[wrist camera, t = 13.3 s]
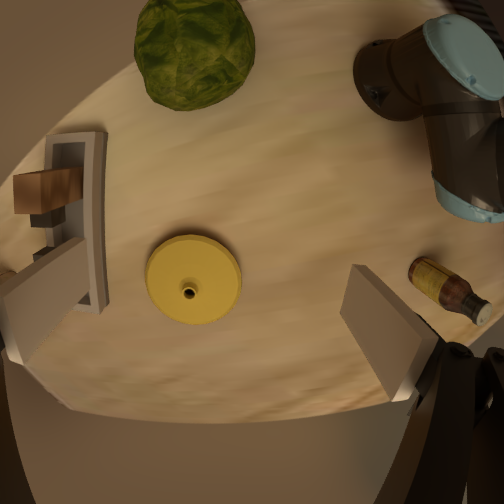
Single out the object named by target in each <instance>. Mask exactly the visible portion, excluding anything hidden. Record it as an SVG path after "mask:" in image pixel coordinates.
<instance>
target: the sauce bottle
mask: <svg viewBox="0 0 504 504" xmlns="http://www.w3.org/2000/svg"><path fill="white" fill-rule="evenodd" d="M409 280H410V282H411V283H412V284H413V285H414V286H415V287H416V288H417V289H419V290H420V291H421V292H423V293H424V294H425V295H427V296H428V297H429V298H430V299H432V300H433V301H435V302H436V303H437V304H439V305H440V306H441V307H443V308H444V309H445V310H447V311H451V312H456V313H460V314H464V315H466V316H467V317H468V318H470V319H471V320H472V322H473V323H474V324H476V325H477V326H482V325H484V324H485V323H486V322H487V321H488V319H489V318H490V316H491V313H492V304H491V303H490V302H488V301H487V300H483V299H481V298H480V297H478V296H477V295H476V294H474V292H473V291H472V288H471V286H470V284H469V283H468V282H467V281H466V280H464V279H462V278H461V277H460V276H458V275H457V274H455V273H453V272H452V271H450V270H448V269H446V268H445V267H443V266H441V265H439V264H438V263H436V262H434V261H432V260H430V259H428V258H419V259H417V260H416V261H415V262H414V263H413V264H412V265H411V267H410V270H409Z"/></svg>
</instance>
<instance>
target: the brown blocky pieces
mask: <svg viewBox="0 0 504 504" xmlns="http://www.w3.org/2000/svg"><path fill="white" fill-rule="evenodd" d="M107 138H108V133H105V132H104V133H103V132H96V131H94V132H77V133H64V134H53V135H46V147H45V168H44V170H49V169H56V168H63V167H82V166H84V184H83V199H81V200H78V201H75V202H72V203H70V204H67V205H65V214H66V221H65V222H63V223H61V224H59V225H57V226H55V227H53V228H46V240H47V246H46V247H44V248H43V249H41V250H39V251H38V252H36V253H35V254H33V260H34V262H35V261H37V260H38V259H40V258H41V257H43V256H44V255H46V254H47V253H49V252H51V251H52V250H54V249H55V248H57V247H59V246H60V245H62V244H63V243H65V242H67V241H68V240H70V239H72V238H73V237H79V238H87V254H88V268H89V279H90V290H89V291H88V292H87V293H86V294H85V295H84V296H83V297H82V299H81V300H80V301H79V302H78V303H77V304H76V305H75V306H74V307H73V308H72V309H71V310H76V311H82V312H88V313H94V314H101V312H102V311H103V309H104V308H105V307H106V306H107V305H108V304H109V293H108V282H107V270H106V253H105V224H104V196H105V167H106V151H107Z"/></svg>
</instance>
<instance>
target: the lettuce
mask: <svg viewBox="0 0 504 504" xmlns="http://www.w3.org/2000/svg"><path fill="white" fill-rule="evenodd" d="M134 57H135V60H136V63H137V66H138V68H139V70H140V72H141V74H142V76H143V78H144V82H145V87H146V91H147V93H148V95H149V96H150V97H151V99H152V100H153V101H154V102H156V103H158V104H160V105H163V106H165V107H168V108H170V109H173V110H175V111H192V110H197V109H202V108H205V107H208V106H210V105H213V104H216V103H218V102H220V101H222V100H223V99H225V98H227V97H229V96H230V95H232V94H233V93H234V92H235V91H236V90H237V89H239V88H240V87H241V86H242V85H243V83H244V81H245V79H246V78H247V76H248V74H249V72H250V70H251V68H252V66H253V64H254V57H255V37H254V33H253V30H252V26H251V24H250V22H249V21H248V19H247V17H246V16H245V14H244V12H243V9H242V7H241V5H240V3H239V2H238V1H237V0H149V1H148V2H147V4H146V5H145V6H144V8H143V9H142V11H141V13H140V14H139V18H138V23H137V31H136V37H135V44H134Z"/></svg>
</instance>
